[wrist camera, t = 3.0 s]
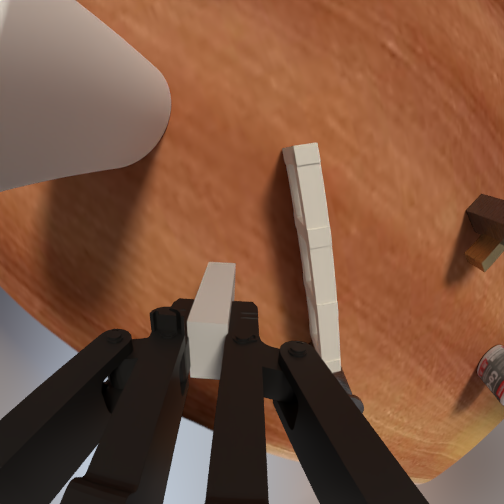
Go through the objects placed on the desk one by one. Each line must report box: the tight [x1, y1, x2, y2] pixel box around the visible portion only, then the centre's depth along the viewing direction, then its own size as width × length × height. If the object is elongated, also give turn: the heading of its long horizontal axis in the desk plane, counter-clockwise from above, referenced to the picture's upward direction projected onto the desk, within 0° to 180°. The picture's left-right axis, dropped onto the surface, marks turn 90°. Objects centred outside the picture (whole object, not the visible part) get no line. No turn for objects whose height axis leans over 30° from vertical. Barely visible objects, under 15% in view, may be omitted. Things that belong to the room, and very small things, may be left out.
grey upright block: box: [464, 194, 504, 272], centre depth 17 cm, size 3×5×7 cm, turn 131°
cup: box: [0, 0, 171, 192], centre depth 10 cm, size 8×8×16 cm
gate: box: [282, 143, 341, 373], centre depth 18 cm, size 14×1×5 cm, turn 11°
